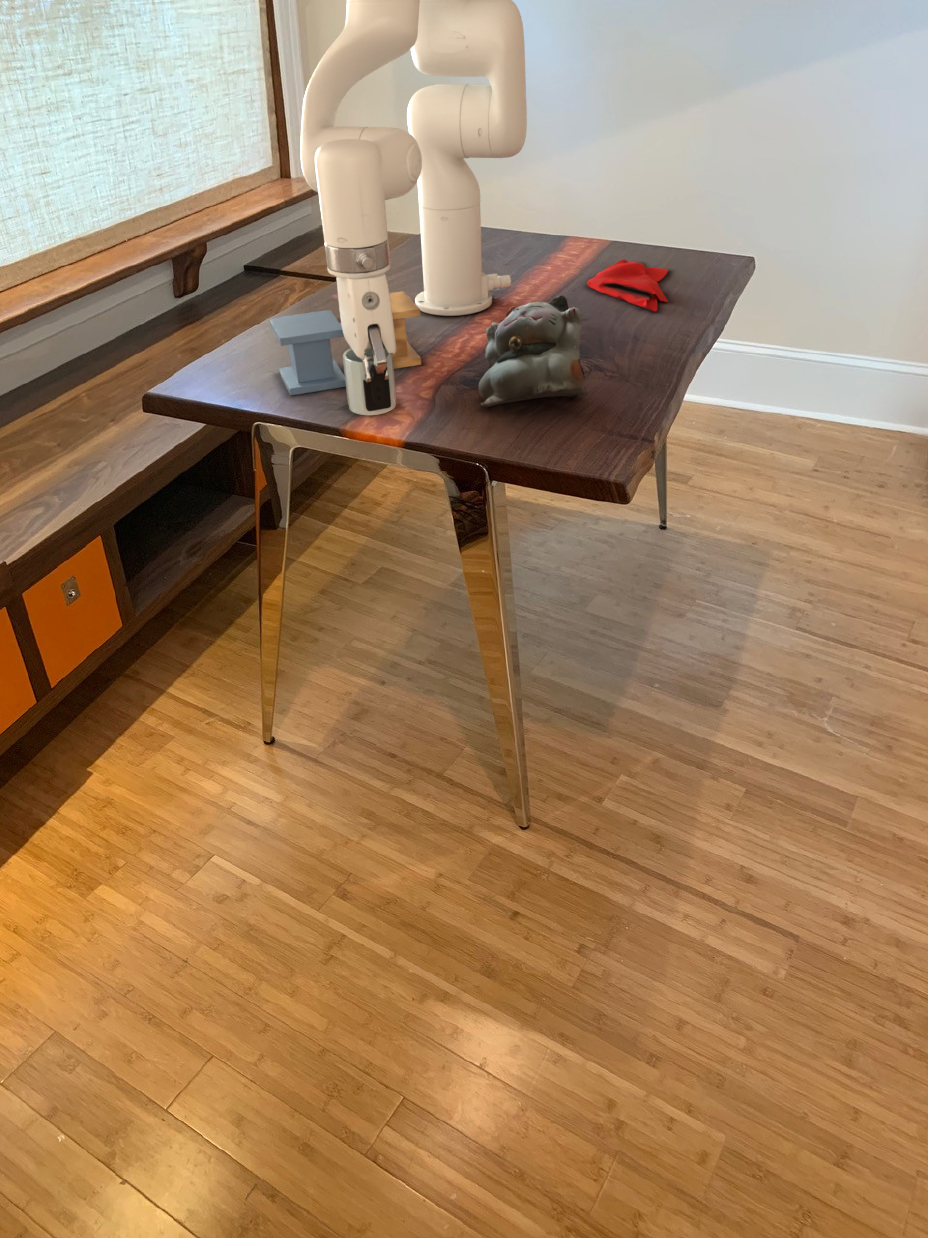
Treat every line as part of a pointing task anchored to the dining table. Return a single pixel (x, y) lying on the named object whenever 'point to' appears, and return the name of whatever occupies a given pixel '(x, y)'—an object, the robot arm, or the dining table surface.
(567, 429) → the dining table surface
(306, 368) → the blue stand
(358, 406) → the container
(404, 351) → the maple stand
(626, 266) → the cloth
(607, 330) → the dining table surface
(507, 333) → the lucky cat figurine
